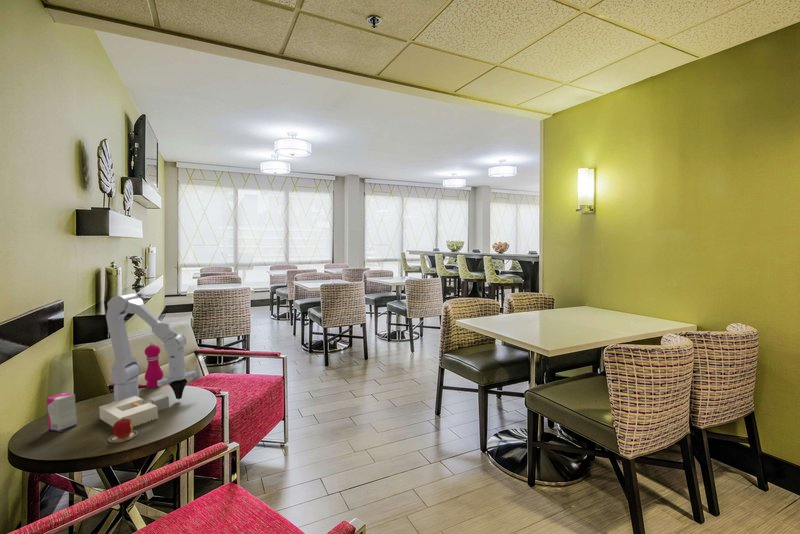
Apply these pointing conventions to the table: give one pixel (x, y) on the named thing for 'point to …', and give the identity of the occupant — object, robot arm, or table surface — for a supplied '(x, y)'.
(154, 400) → the plug
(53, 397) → the supplement box
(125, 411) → the socket housing
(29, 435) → the table surface
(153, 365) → the pepper mill
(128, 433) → the red rounded piece
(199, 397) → the table surface
